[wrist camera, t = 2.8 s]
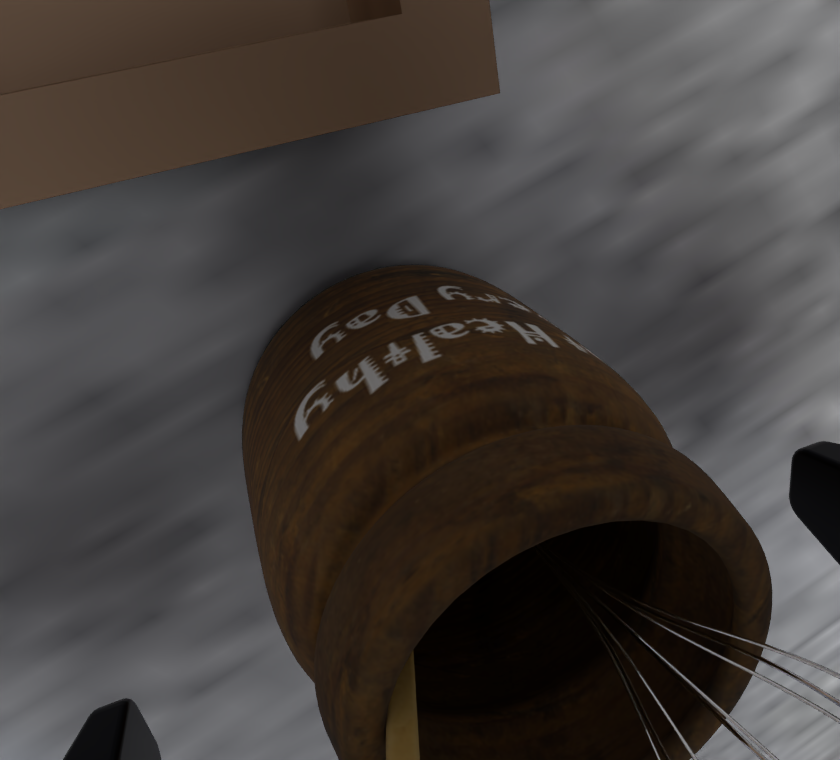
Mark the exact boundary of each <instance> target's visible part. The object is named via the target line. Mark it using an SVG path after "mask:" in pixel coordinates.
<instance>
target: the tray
mask: <svg viewBox="0 0 840 760" xmlns="http://www.w3.org/2000/svg"><path fill="white" fill-rule="evenodd" d="M498 93H500V89H499V80H498V72H497V63H496V55H495V46H494V38H493V29H492V21H491V12H490V4H489V0H0V209H4V208H8V207H12V206H17V205H21V204H25V203H29V202H34V201H38V200H42V199H47V198H51V197H55V196H60V195H64V194H68V193H72V192H77V191H81V190H85V189H90V188H94V187H98V186H103V185H107V184H111V183H115V182H120V181H124V180H128V179H133V178H137V177H141V176H146V175H150V174H154V173H159V172H163V171H167V170H171V169H176V168H180V167H184V166H189V165H193V164H197V163H202V162H206V161H210V160H214V159H219V158H223V157H227V156H232V155H236V154H240V153H245V152H249V151H253V150H257V149H262V148H266V147H270V146H275V145H279V144H283V143H288V142H292V141H296V140H300V139H305V138H309V137H313V136H318V135H322V134H326V133H331V132H335V131H339V130H343V129H348V128H352V127H356V126H361V125H365V124H369V123H374V122H378V121H382V120H386V119H391V118H395V117H399V116H404V115H408V114H412V113H417V112H421V111H425V110H429V109H434V108H438V107H442V106H447V105H451V104H455V103H460V102H464V101H468V100H473V99H477V98H481V97H485V96H490V95H494V94H498Z"/></svg>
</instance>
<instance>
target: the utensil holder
mask: <svg viewBox="0 0 840 760" xmlns="http://www.w3.org/2000/svg"><path fill="white" fill-rule="evenodd" d="M242 450H243V460H244V470H245V478H246V484H247V491H248V497H249V503H250V508H251V514H252V520H253V525H254V531H255V536H256V542H257V547H258V552H259V557H260V562H261V566H262V571H263V576H264V580H265V584H266V588H267V592H268V595H269V599H270V602H271V605H272V608H273V611H274V614H275V617H276V620H277V623H278V625H279V627H280V629H281V632H282V634H283V636H284V638H285V640H286V642H287V644H288V646H289V648H290V650H291V651H292V653H293V655H294V657H295V658H296V660H297V662H298V663H299V664H300V666H301V667H302V668H303V670H304V671H305V672H306V674H307V675H308V676H309V677H310V678H311V679H312V681H313V682H314V683H315V689H316V696H317V701H318V707H319V710H320V714H321V717H322V720H323V723H324V727H325V730H326V732H327V734H328V736H329V739H330V741H331V743H332V745H333V748H334V750H335V752H336V754H337V756H338V759H339V760H689V759H691V758H693V760H698V759H697V757H696V756H695V754H696V753H697V752H698V751H699V750H700V749H701V747H702V746H703V745H704V744H705V743H706V742H707V741H708V740H709V739H710V738H711V736H712V735H713V734H714V733H715V732H716V731H717V729H718V728H719V727H720V726H721V724H723V725H724V726H725V727H726V728H727V729H728V730H729V731H731V732H732V733H733V734H734V735H735V736H736V737H737V738H738V739H739V740H740V741H741V742H742V743H743V744H744V745H745V746H746V747H747V748H748V749H750V750H751V751H752V752H753V753H754V754H755V755H756V756H757V757H758V758H759V759H760V760H768V759H767V758H766V757H764V756H763V755H762V754H761V753H760V752H759V751H758V750H757V749H756V748H755V747H754V746H753V745H752V744H751V743H749V742H748V741H747V740H746V739H745V738H744V737H743V736H742V735H741V734H740V733H739V732H738V731H737V730H736V729H735V728H733V727H732V726H731V725H730V724H729V723H728V722H727V721H726V720H725V719H726V718H727V719H728V720H730V721H731V722H732V723H733V724H734V725H735V726H736V727H737V728H738V729H740V730H741V731H742V732H743V733H744V734H745V735H746V736H747V737H748V738H750V739H751V740H752V741H753V742H754V743H755V744H756V745H757V746H758V747H760V748H761V749H762V750H763V751H764V752H765V753H766V754H767V755H768V756H770V757H771V758H772V759H773V760H779V759H778V758H777V757H776V756H774V755H773V754H772V753H771V752H770V751H769V750H768V749H767V748H766V747H764V746H763V745H762V744H761V743H760V742H759V741H758V740H757V739H755V738H754V737H753V736H752V735H751V734H750V733H749V732H748V731H747V730H745V729H744V728H743V727H742V726H741V725H740V724H739V723H738V722H736V721H735V720H734V719H733V718H732V717H731V716H730V715H729V714H730V712H731V711H732V710H733V708H734V707H735V705H736V703H737V702H738V700H739V699H740V697H741V696H742V694H743V692H744V690H745V689H746V687H747V685H748V683H749V681H750V679H751V677H752V675H754V676H756V677H758V678H760V679H762V680H764V681H766V682H767V683H769V684H771V685H773V686H775V687H777V688H779V689H781V690H782V691H784V692H786V693H788V694H790V695H792V696H793V697H795V698H797V699H799V700H801V701H802V702H804V703H806V704H808V705H809V706H811V707H813V708H815V709H816V710H818V711H820V712H822V713H823V714H825V715H826V716H828V717H830V718H831V719H833V720H835V721H836V722H838V723H839V724H840V719H839V718H838V717H836V716H834V715H833V714H831V713H830V712H828V711H826V710H825V709H823V708H821V707H819V706H818V705H816V704H814V703H812V702H811V701H809V700H807V699H805V698H804V697H802V696H800V695H798V694H797V693H795V692H793V691H791V690H789V689H787V688H785V687H783V686H782V685H780V684H778V683H776V682H774V681H772V680H770V679H768V678H766V677H765V676H763V675H761V674H759V673H757V672H755V669H756V667H757V664H758V662H759V661H761V662H763V663H765V664H767V665H769V666H771V667H773V668H775V669H777V670H779V671H781V672H783V673H785V674H786V675H788V676H790V677H792V678H793V679H795V680H797V681H799V682H801V683H802V684H804V685H806V686H808V687H809V688H811V689H813V690H814V691H816V692H817V693H819V694H821V695H822V696H824V697H825V698H827V699H828V700H830V701H832V702H833V703H835V704H836V705H838V706H839V707H840V701H839V700H838V699H836V698H835V697H833V696H831V695H830V694H828V693H827V692H825V691H823V690H822V689H820V688H819V687H817V686H815V685H814V684H812V683H811V682H809V681H807V680H805V679H803V678H802V677H800V676H798V675H796V674H794V673H793V672H791V671H789V670H787V669H785V668H783V667H781V666H779V665H777V664H775V663H773V662H771V661H769V660H767V659H765V658H763V657H761V654H762V651H763V648H766V649H769V650H772V651H774V652H777V653H780V654H782V655H785V656H788V657H790V658H793V659H796V660H798V661H801V662H803V663H805V664H808V665H810V666H812V667H815V668H817V669H820V670H822V671H824V672H826V673H828V674H830V675H832V676H834V677H837V678H839V679H840V674H839V673H837V672H834V671H832V670H830V669H828V668H826V667H824V666H821V665H819V664H817V663H814V662H812V661H809V660H807V659H805V658H802V657H800V656H797V655H795V654H792V653H789V652H787V651H784V650H781V649H778V648H776V647H773V646H770V645H767V644H765V642H766V638H767V634H768V630H769V625H770V620H771V611H772V584H771V576H770V571H769V566H768V563H767V560H766V557H765V553H764V551H763V549H762V547H761V544H760V542H759V540H758V539H757V537H756V535H755V534H754V532H753V530H752V529H751V527H750V526H749V525H748V523H747V522H746V521H745V520H744V518H743V517H742V516H741V515H740V513H739V512H738V511H737V509H736V508H735V507H734V506H733V504H732V503H731V502H730V501H729V499H728V498H727V497H726V496H725V494H724V493H723V492H722V491H721V490H720V488H719V487H718V486H717V485H716V484H715V483H714V481H713V480H712V479H711V478H710V477H709V476H708V475H707V474H706V473H705V472H704V471H703V470H702V469H701V468H700V467H698V466H697V465H696V464H695V463H694V462H692V461H691V460H690V459H689V458H687V457H686V456H685V455H683V454H682V453H680V452H679V451H677V450H675V449H674V448H673V447H672V445H671V443H670V441H669V439H668V437H667V435H666V433H665V431H664V429H663V427H662V425H661V424H660V422H659V420H658V419H657V417H656V416H655V415H654V413H653V412H652V411H651V409H650V408H649V407H648V406H647V404H646V403H645V402H644V401H643V399H642V398H641V397H640V396H639V394H638V393H637V392H636V391H635V390H634V389H633V388H632V387H631V386H630V385H629V384H628V383H627V382H626V381H625V380H624V379H623V378H622V377H621V376H620V375H618V374H617V373H616V372H615V371H614V370H613V369H611V368H610V367H609V366H608V365H607V364H605V363H604V362H603V361H602V360H600V359H599V358H598V357H597V356H595V355H594V354H593V353H592V352H590V351H589V350H588V349H586V348H585V347H584V346H582V345H581V344H580V343H578V342H577V341H576V340H574V339H573V338H571V337H570V336H569V335H567V334H566V333H565V332H563V331H562V330H560V329H559V328H557V327H556V326H555V325H553V324H552V323H550V322H549V321H548V320H546V319H545V318H543V317H542V316H540V315H539V314H538V313H536V312H535V311H533V310H532V309H530V308H529V307H527V306H526V305H524V304H523V303H521V302H520V301H518V300H517V299H515V298H514V297H512V296H511V295H509V294H507V293H506V292H504V291H502V290H501V289H499V288H497V287H495V286H493V285H491V284H489V283H487V282H486V281H483V280H481V279H478V278H476V277H474V276H471V275H468V274H465V273H462V272H459V271H456V270H452V269H447V268H443V267H436V266H427V265H400V266H391V267H385V268H380V269H375V270H371V271H368V272H364V273H361V274H358V275H355V276H353V277H350V278H348V279H346V280H343V281H341V282H339V283H337V284H335V285H333V286H331V287H330V288H328V289H326V290H324V291H323V292H321V293H320V294H318V295H317V296H315V297H314V298H312V299H311V300H310V301H308V302H307V303H306V304H305V305H303V306H302V307H301V308H300V309H299V310H298V311H297V312H295V313H294V314H293V315H292V316H291V317H290V318H289V319H288V320H287V322H286V323H285V324H284V325H283V326H282V327H281V328H280V330H279V331H278V332H277V333H276V335H275V336H274V337H273V339H272V340H271V342H270V343H269V345H268V346H267V348H266V349H265V351H264V353H263V355H262V357H261V358H260V360H259V363H258V365H257V367H256V369H255V371H254V374H253V377H252V379H251V382H250V385H249V389H248V393H247V396H246V401H245V407H244V415H243V426H242Z"/></svg>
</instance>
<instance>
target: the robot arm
mask: <svg viewBox="0 0 840 760" xmlns="http://www.w3.org/2000/svg"><path fill="white" fill-rule="evenodd" d="M789 500H790V504H791V507H792V509H793V511H794V512H795V514H796V515H797V517H798V518H799V519H800V520H801V521H802V522H803V523H804V525H805V526H806V527H807V528H808V529H809V530H810V531H811V533H812V534H813V535H814V536H815V537H816V538H817V539H818V541H819V542H820V543H821V544H822V545H823V546H824V548H825V549H826V550H827V551H828V552H829V553H830V554H831V556H832V557H833V558H834V559H835V560H836V561H837V562H838V564H839V565H840V444H836V443H832V442H826V441H821V442H817V443H814V444H811V445H809V446H806V447H803V448H800V449H798V450H797V451H796V452H795V453H794V455H793V457H792V464H791V477H790V490H789ZM63 760H161V755H160V751H159V748H158V745H157V742H156V740H155V738H154V736H153V735H152V733H151V731H150V729H149V727H148V725H147V723H146V722H145V720H144V718H143V716H142V714H141V712H140V710H139V709H138V707H137V705H136V703H135V702H134V701H133V700H131V699H128V698H125V699H122V700H119V701H116V702H114V703H111V704H108V705H105V706H103V707H100V708H98V709H96V710H94V711H93V712H92V713H91V714H90V716H89V717H88V719H87V720H86V722H85V724H84V725H83V727H82V729H81V730H80V732H79V734H78V735H77V737H76V739H75V740H74V742H73V744H72V745H71V747H70V749H69V750H68V752H67V754H66V755H65V757H64V759H63Z"/></svg>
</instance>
